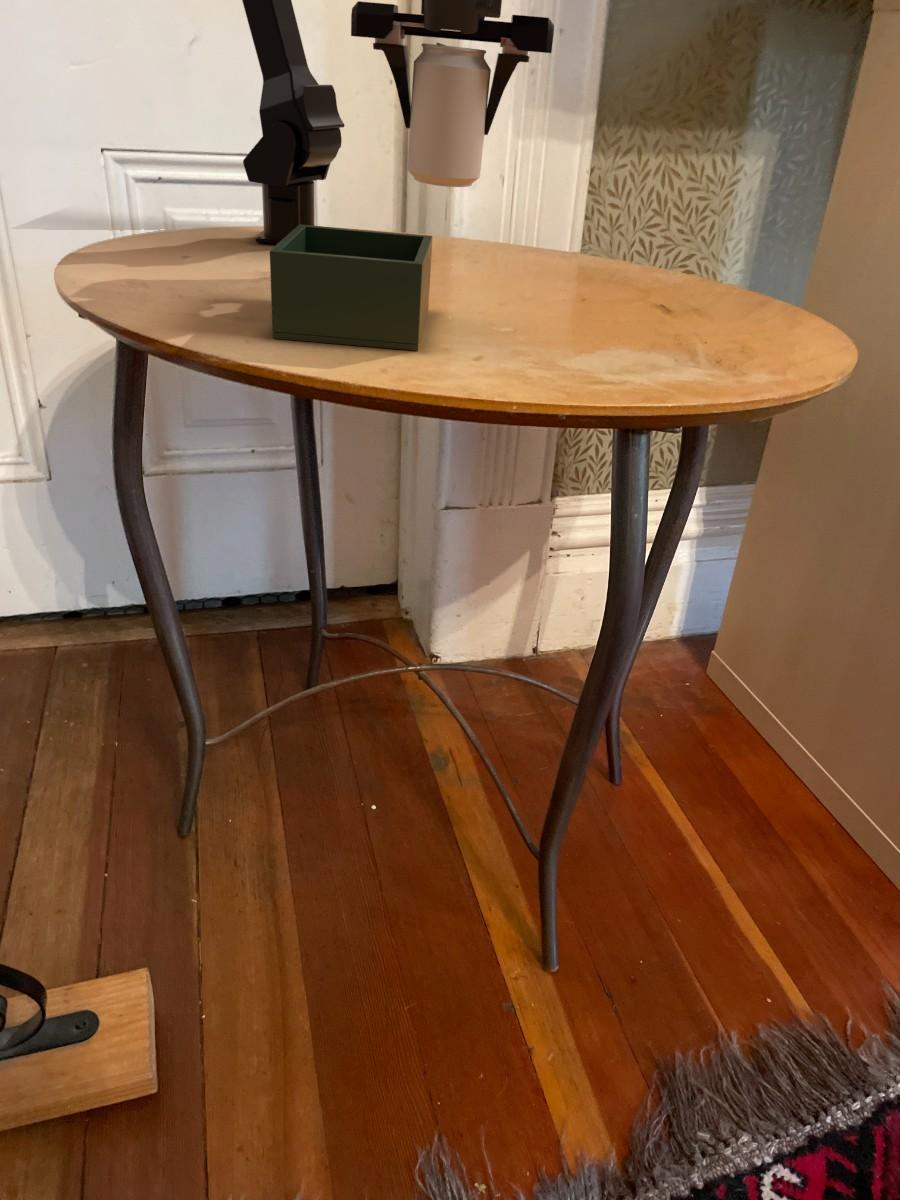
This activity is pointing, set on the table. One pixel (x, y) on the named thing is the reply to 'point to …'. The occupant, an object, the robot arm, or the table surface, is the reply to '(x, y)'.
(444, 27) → the robot arm
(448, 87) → the can
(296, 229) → the bin
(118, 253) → the table surface
